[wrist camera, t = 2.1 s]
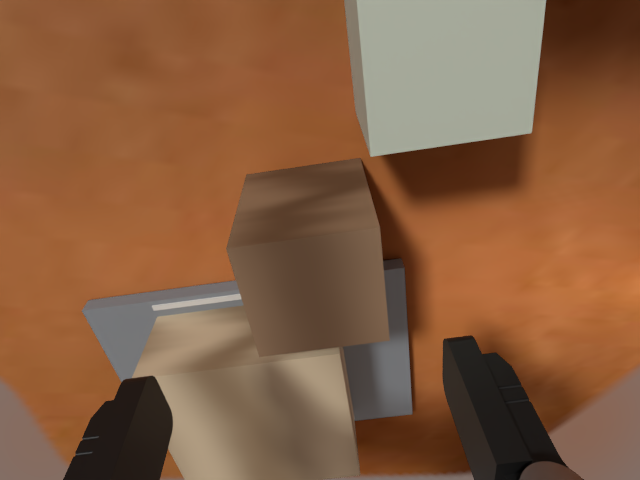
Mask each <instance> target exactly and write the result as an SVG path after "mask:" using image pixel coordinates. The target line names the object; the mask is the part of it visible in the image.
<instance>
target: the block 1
mask: <svg viewBox="0 0 640 480" xmlns="http://www.w3.org/2000/svg"><path fill="white" fill-rule="evenodd" d="M226 249H227V252H228V256H229V259H230V262H231V266H232V269H233V272H234V276H235V279H236V282H237V285H238V289H239V292H240V295H241V299H242V302H243V305H244V308H245V312H246V315H247V318H248V322H249V325H250V328H251V331H252V335H253V338H254V341H255V345H256V348H257V351H258V354H259V357H264V356H272V355H280V354H288V353H296V352H304V351H312V350H320V349H328V348H336V347H344V346H352V345H360V344H368V343H375V342H383V341H390V338H389V326H388V314H387V303H386V291H385V279H384V267H383V256H382V244H381V232H380V225H379V222H378V218H377V215H376V211H375V208H374V204H373V201H372V197H371V194H370V190H369V187H368V183H367V180H366V176H365V173H364V169H363V166H362V162H361V158H356V159H350V160H343V161H336V162H329V163H322V164H316V165H309V166H302V167H295V168H288V169H281V170H275V171H268V172H261V173H254V174H247V175H246V178H245V182H244V186H243V189H242V193H241V197H240V200H239V204H238V208H237V211H236V215H235V219H234V222H233V226H232V230H231V233H230V237H229V241H228V244H227V248H226Z"/></svg>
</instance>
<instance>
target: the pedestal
mask: <svg viewBox="0 0 640 480" xmlns="http://www.w3.org/2000/svg"><path fill="white" fill-rule="evenodd" d="M144 376H154V377H155V378H156V379H157V381H158V383H159V386H160V388H161V390H162V392H163V394H164V396H165V398H166V400H167V402H168V404H169V407H170V409H171V412H172V416H173V430H172V435H171V438H170V442H169V446H168V449H169V451H170V453H171V455H172V457H173V458H174V460H175V462H176V464H177V466H178V468H179V470H180V472H181V473H182V475H183V477H184V479H185V480H323V479H332V478H341V477H350V476H359V475H360V467H359V458H358V449H357V439H356V430H355V421H354V411H353V405H352V399H351V393H350V386H349V380H348V374H347V368H346V362H345V356H344V349H343V347H336V348H328V349H320V350H312V351H304V352H296V353H288V354H280V355H272V356H264V357H259V354H258V351H257V348H256V345H255V341H254V338H253V335H252V331H251V328H250V325H249V322H248V318H247V315H246V312H245V308H244V305H243V306H236V307H228V308H220V309H213V310H205V311H197V312H190V313H182V314H175V315H167V316H159V317H157V318H156V321H155V323H154V326H153V328H152V331H151V333H150V335H149V338H148V340H147V343H146V345H145V347H144V350H143V352H142V355H141V357H140V359H139V362H138V364H137V367H136V369H135V371H134V374H133V376H132V378H137V377H144Z"/></svg>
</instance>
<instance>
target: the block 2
mask: <svg viewBox="0 0 640 480" xmlns="http://www.w3.org/2000/svg"><path fill="white" fill-rule="evenodd" d="M344 3H345V13H346V22H347V32H348V42H349V52H350V62H351V71H352V81H353V91H354V101H355V110H356V115H357V118H358V121H359V124H360V127H361V130H362V132H363V135H364V138H365V141H366V144H367V147H368V150H369V153H370V156H371V157H372V156H379V155H386V154H393V153H400V152H407V151H413V150H420V149H427V148H434V147H441V146H448V145H454V144H461V143H468V142H475V141H482V140H489V139H495V138H502V137H509V136H516V135H523V134H530V133H532V126H533V117H534V107H535V98H536V89H537V80H538V71H539V62H540V52H541V43H542V34H543V25H544V16H545V6H546V0H344Z"/></svg>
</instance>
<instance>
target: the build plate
mask: <svg viewBox="0 0 640 480" xmlns="http://www.w3.org/2000/svg"><path fill="white" fill-rule="evenodd" d="M383 267H384V279H385V291H386V303H387V314H388V326H389V338H390V341H383V342H375V343H368V344H360V345H352V346H344V347H343V349H344V356H345V362H346V368H347V374H348V380H349V386H350V393H351V399H352V405H353V411H354V421H358V420H367V419H375V418H384V417H393V416H401V415H410V414H412V396H411V378H410V360H409V341H408V323H407V305H406V286H405V268H404V265H403V262H402V259H401V258H400V259H392V260H385V261H383ZM236 306H243V302H242V299H241V295H240V292H239V289H238V285H237V282H236V281H229V282H221V283H214V284H206V285H199V286H191V287H184V288H177V289H169V290H162V291H154V292H147V293H139V294H132V295H124V296H117V297H109V298H102V299H95V300H88V302H87V303H86V305H85V307H84V308H83V310H82V312H83V314H84V315H85V317H86V319H87V321H88V323H89V324H90V326H91V328H92V330H93V331H94V333H95V335H96V337H97V339H98V340H99V342H100V344H101V346H102V348H103V349H104V351H105V353H106V355H107V357H108V358H109V360H110V362H111V364H112V366H113V367H114V369H115V371H116V373H117V375H118V376H119V378H120V380H121V382H122V381H123V380H125V379H129V378H132V376H133V374H134V371H135V369H136V367H137V364H138V362H139V359H140V357H141V355H142V352H143V350H144V347H145V345H146V343H147V340H148V338H149V335H150V333H151V331H152V328H153V326H154V323H155V321H156V318H157V317H159V316H167V315H175V314H182V313H190V312H197V311H205V310H213V309H220V308H228V307H236Z"/></svg>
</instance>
